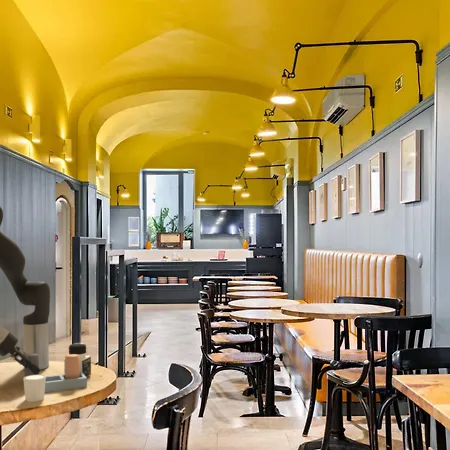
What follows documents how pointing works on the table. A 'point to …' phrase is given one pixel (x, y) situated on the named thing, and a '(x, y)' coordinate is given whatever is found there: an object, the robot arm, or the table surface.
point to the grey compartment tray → (67, 376)
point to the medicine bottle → (81, 358)
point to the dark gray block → (35, 361)
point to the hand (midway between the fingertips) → (37, 370)
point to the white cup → (34, 387)
